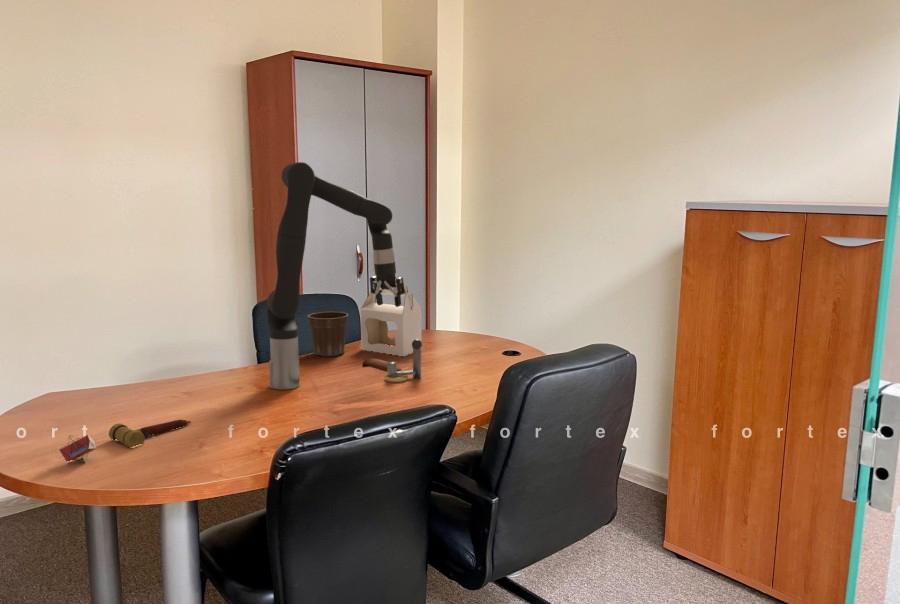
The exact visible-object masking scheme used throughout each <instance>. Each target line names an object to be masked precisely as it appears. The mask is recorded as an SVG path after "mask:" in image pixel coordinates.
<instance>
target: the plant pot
mask: <svg viewBox="0 0 900 604" xmlns="http://www.w3.org/2000/svg"><path fill="white" fill-rule="evenodd" d="M348 317H349V313H346V312H343V311H342V312H341V311H321V312H313V313H310V314H308V315H307V318H308V322H309V327H310V330H311V336H312V337H311V339H312V345H313V354H314V355H315V356H317V357H318V356H321V357H327V358H328V357H336V356H340V355H344V354H345V344H346V342H345V341H346V329H347V328H346V327H347V324H348V323H347V322H348Z"/></svg>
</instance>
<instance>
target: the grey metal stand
mask: <svg viewBox="0 0 900 604" xmlns="http://www.w3.org/2000/svg"><path fill="white" fill-rule="evenodd" d="M412 347H413V354H412V370H411V369H410V370H401V371H397V366H398V365H397V363H398V362H397V361H387V362H388V363H387V371H386V372H387V374H385V375H384V381H386V382H388V383H392V384H393V383H394V384H398V383H404V382H407V381H408V380H409V376H410V375H411V376H412V378H413V379H421V378H422V347H423V343H422V340H421V341H420V340H418V339H416V340H414V341H413V342H412Z"/></svg>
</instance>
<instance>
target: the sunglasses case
mask: <svg viewBox="0 0 900 604" xmlns="http://www.w3.org/2000/svg"><path fill="white" fill-rule="evenodd" d="M388 362H389V361H385V360H384V359H383V360H382V359H380V358H365V359H364V360H363V362H362V364H361V365H362V368H369V367H371V368H375V369H378V370H381V371H384V372H387V363H388ZM397 371H403V369H402V368H401V367H400V366H398V365H397Z"/></svg>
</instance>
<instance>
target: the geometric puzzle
mask: <svg viewBox="0 0 900 604" xmlns="http://www.w3.org/2000/svg"><path fill="white" fill-rule="evenodd" d="M75 436H78V435H73V438H74V439H72V436H71V435H70V434H69V436H68V438H67V439H71V443H70V441H68V442H67V444H65V445H63V447H60V449H59V451H60V453H61V455H62V457H63V458H64V460H65V462H67V461H70V460H74V461H75V460H76V461H77V460H78V459H80V458H81V459H83V458H84V455H85V456H86V455H89V454H90V453H91V455H92V452H93V453H94V451H95V450H96V442H95V440H94V439H93V438H91V436H89V435H88V434H86V435H84V436H83V435H82V437H80V438H78V437H75ZM85 460H88V457H86V459H85ZM80 463H83V461H82V460H81V461H80Z"/></svg>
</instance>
